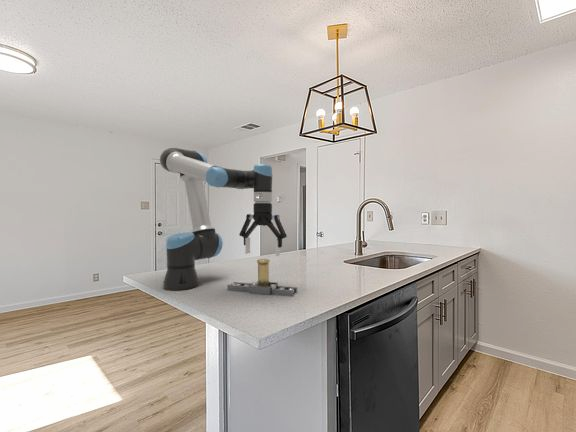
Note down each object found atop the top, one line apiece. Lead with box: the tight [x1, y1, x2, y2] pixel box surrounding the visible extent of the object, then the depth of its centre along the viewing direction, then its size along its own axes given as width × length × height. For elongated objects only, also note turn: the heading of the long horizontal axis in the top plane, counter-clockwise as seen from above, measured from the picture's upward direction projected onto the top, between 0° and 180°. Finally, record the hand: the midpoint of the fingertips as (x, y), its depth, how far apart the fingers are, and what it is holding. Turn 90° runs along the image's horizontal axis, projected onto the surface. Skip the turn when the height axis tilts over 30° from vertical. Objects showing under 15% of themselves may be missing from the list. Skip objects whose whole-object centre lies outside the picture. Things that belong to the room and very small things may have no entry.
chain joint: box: [226, 280, 298, 297], centre depth 126 cm, size 29×8×3 cm, turn 70°
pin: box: [256, 258, 270, 287], centre depth 126 cm, size 5×5×13 cm
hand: (262, 254), depth 126 cm, fingers open, 13 cm apart
